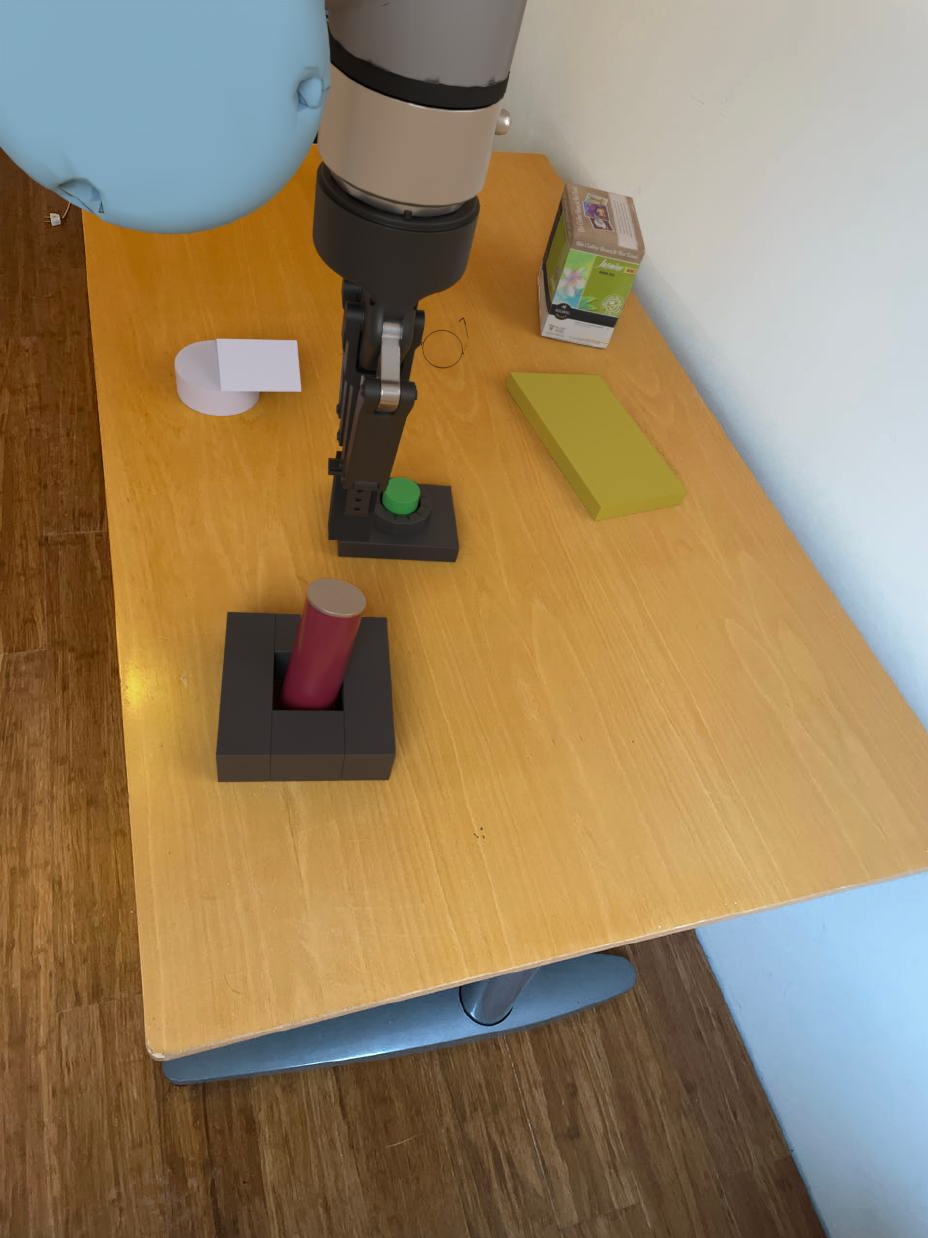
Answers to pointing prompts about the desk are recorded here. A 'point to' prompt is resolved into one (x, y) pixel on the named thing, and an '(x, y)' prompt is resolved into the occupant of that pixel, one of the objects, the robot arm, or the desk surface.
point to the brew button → (401, 496)
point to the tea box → (588, 265)
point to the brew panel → (411, 530)
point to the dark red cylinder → (322, 645)
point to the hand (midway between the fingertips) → (348, 532)
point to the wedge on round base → (234, 373)
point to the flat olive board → (596, 444)
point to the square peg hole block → (302, 739)
